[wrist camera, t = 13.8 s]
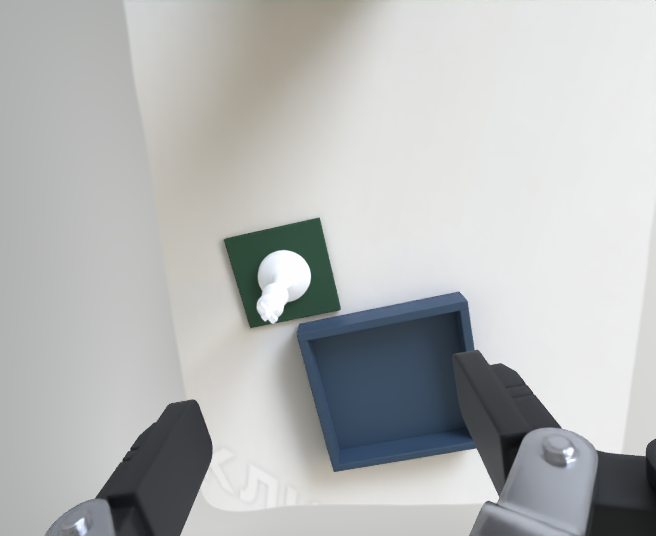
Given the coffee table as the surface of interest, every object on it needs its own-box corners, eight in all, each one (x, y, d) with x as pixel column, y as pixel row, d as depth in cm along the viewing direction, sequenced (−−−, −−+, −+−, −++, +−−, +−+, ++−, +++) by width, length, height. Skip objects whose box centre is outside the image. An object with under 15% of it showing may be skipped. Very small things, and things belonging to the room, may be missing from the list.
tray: (299, 323, 39) (296, 334, 36) (459, 291, 37) (467, 300, 35) (334, 454, 43) (333, 472, 40) (479, 429, 41) (488, 446, 39)
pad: (224, 238, 37) (223, 239, 36) (319, 217, 36) (319, 218, 35) (251, 326, 39) (250, 328, 39) (340, 308, 38) (340, 310, 38)
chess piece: (283, 310, 38) (263, 362, 28) (247, 273, 37) (214, 313, 27) (321, 278, 37) (315, 321, 27) (286, 239, 36) (266, 269, 26)
